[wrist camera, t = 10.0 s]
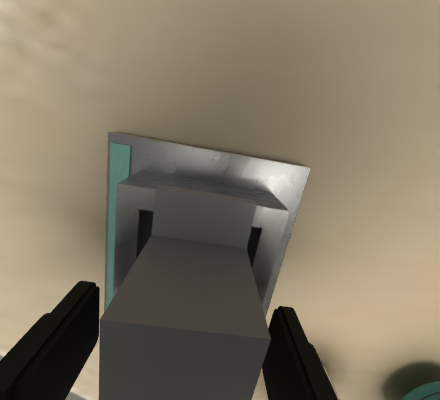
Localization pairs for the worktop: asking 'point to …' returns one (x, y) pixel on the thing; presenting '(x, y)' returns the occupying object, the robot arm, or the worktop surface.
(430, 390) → the beverage bottle
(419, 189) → the worktop surface
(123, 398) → the lever
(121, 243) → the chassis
